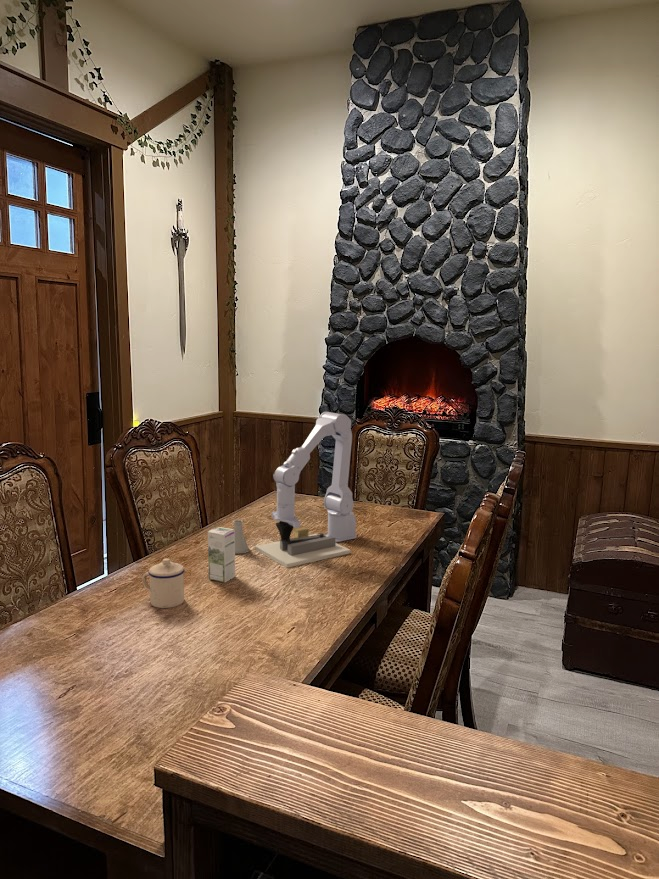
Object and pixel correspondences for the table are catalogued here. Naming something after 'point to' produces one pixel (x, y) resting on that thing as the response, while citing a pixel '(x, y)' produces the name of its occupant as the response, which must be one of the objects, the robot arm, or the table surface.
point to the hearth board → (301, 557)
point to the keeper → (300, 532)
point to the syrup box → (221, 554)
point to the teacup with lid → (165, 584)
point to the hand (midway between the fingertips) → (285, 543)
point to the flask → (239, 538)
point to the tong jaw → (298, 540)
